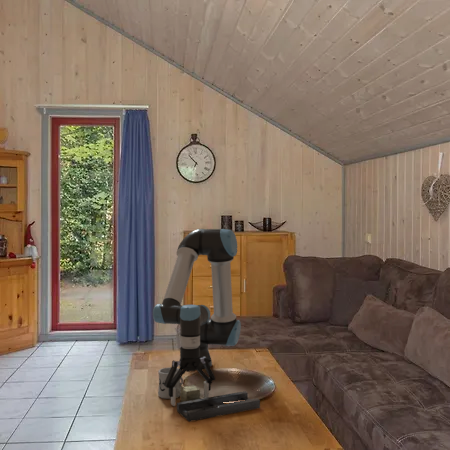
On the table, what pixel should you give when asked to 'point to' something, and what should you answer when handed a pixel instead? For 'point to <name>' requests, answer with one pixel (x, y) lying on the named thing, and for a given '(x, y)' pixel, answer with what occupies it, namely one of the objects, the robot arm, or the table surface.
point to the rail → (216, 406)
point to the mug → (163, 390)
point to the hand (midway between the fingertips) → (189, 402)
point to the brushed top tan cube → (190, 393)
